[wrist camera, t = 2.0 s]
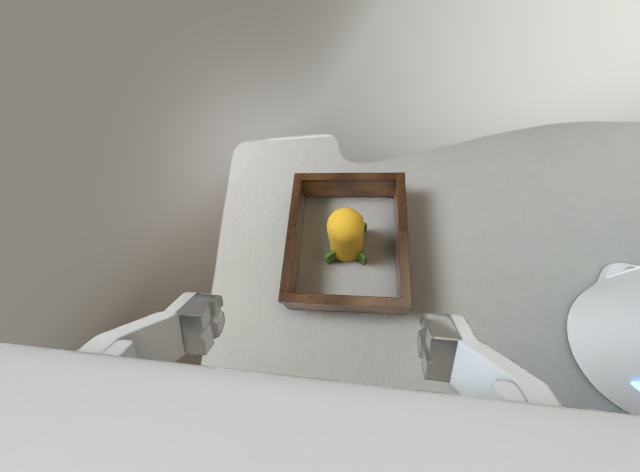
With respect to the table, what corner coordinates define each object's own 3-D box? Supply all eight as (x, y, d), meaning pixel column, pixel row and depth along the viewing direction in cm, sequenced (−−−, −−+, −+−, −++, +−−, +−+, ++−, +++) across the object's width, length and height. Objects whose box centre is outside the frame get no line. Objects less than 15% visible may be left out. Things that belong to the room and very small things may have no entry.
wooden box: (400, 191, 44) (404, 172, 40) (405, 315, 37) (412, 308, 33) (300, 191, 46) (294, 173, 42) (286, 309, 39) (277, 301, 35)
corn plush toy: (366, 230, 42) (368, 197, 35) (366, 265, 40) (368, 238, 33) (329, 229, 43) (323, 197, 35) (327, 264, 41) (320, 238, 33)
